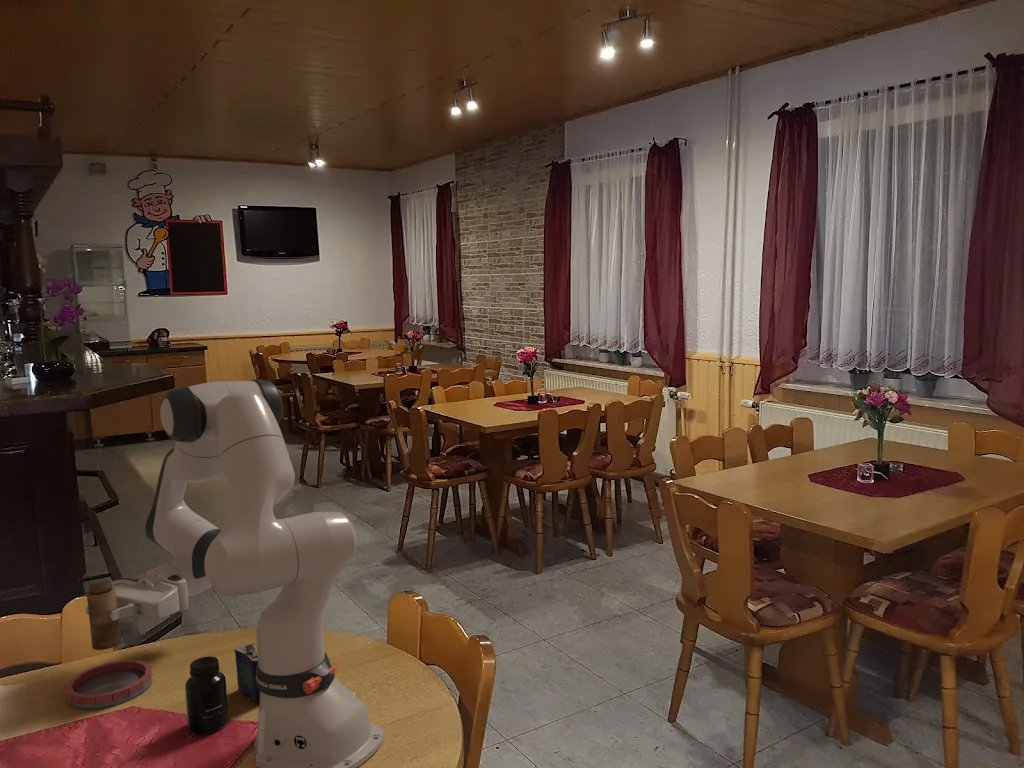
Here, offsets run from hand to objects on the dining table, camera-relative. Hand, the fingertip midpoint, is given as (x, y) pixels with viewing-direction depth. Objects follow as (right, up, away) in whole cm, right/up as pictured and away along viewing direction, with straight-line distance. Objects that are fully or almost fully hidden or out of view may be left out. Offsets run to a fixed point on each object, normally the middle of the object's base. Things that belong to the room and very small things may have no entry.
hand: (99, 613), depth 153 cm
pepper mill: (+1, -6, +2) cm, 7 cm away
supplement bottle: (+26, -17, -12) cm, 33 cm away
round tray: (+1, -16, +3) cm, 16 cm away
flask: (+31, -16, -2) cm, 35 cm away
